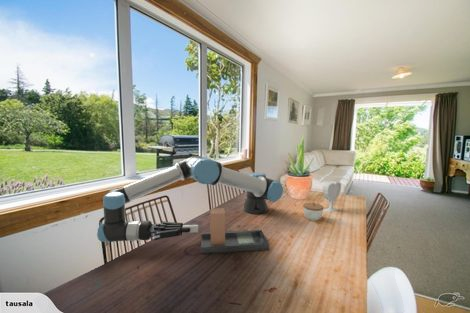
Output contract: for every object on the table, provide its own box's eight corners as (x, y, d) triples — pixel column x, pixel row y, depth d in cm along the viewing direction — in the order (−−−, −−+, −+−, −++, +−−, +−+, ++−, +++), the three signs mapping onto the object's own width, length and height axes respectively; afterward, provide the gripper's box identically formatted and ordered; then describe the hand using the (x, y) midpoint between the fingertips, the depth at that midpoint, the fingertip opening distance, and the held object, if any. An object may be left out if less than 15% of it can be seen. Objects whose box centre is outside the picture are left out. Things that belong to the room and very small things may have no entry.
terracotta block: (210, 245, 90) (210, 213, 88) (210, 238, 96) (210, 208, 94) (225, 245, 91) (225, 213, 89) (224, 238, 97) (224, 208, 95)
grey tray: (200, 253, 86) (200, 247, 86) (201, 237, 99) (201, 232, 99) (268, 249, 89) (268, 244, 89) (261, 235, 102) (261, 230, 102)
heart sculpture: (327, 213, 132) (329, 184, 130) (320, 210, 136) (321, 182, 134) (340, 208, 141) (342, 181, 139) (333, 206, 145) (335, 179, 143)
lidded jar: (323, 217, 126) (324, 201, 125) (322, 223, 116) (323, 207, 115) (304, 213, 130) (304, 198, 129) (301, 220, 120) (302, 204, 119)
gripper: (145, 232, 96) (199, 230, 98) (135, 247, 83) (197, 244, 85) (144, 215, 95) (199, 214, 98) (134, 228, 82) (197, 226, 85)
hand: (198, 228), depth 91 cm, fingers closed
